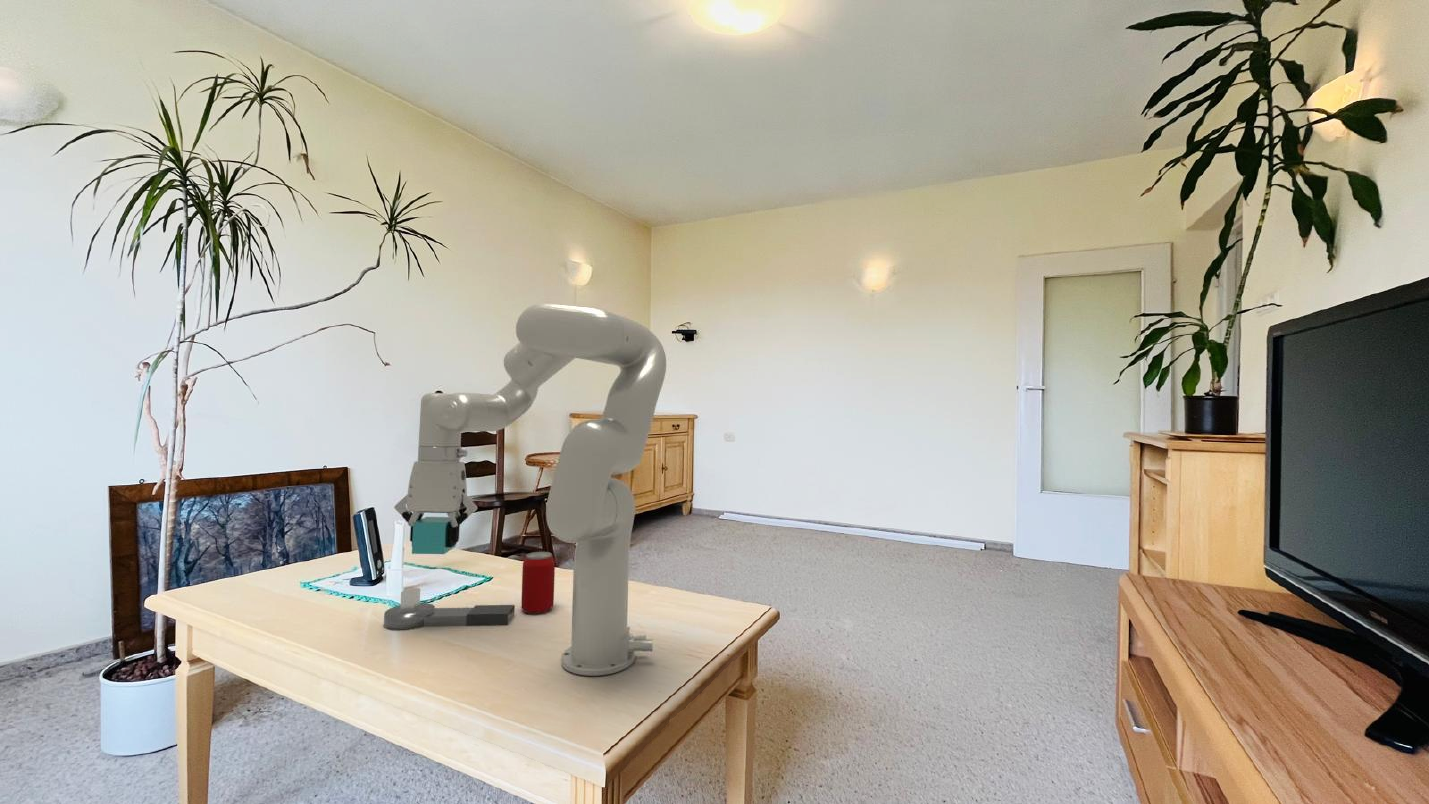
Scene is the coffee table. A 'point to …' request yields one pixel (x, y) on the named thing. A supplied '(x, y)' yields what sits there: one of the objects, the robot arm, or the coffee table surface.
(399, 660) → the coffee table surface
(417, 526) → the teal cube
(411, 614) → the ratchet
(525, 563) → the beverage can
